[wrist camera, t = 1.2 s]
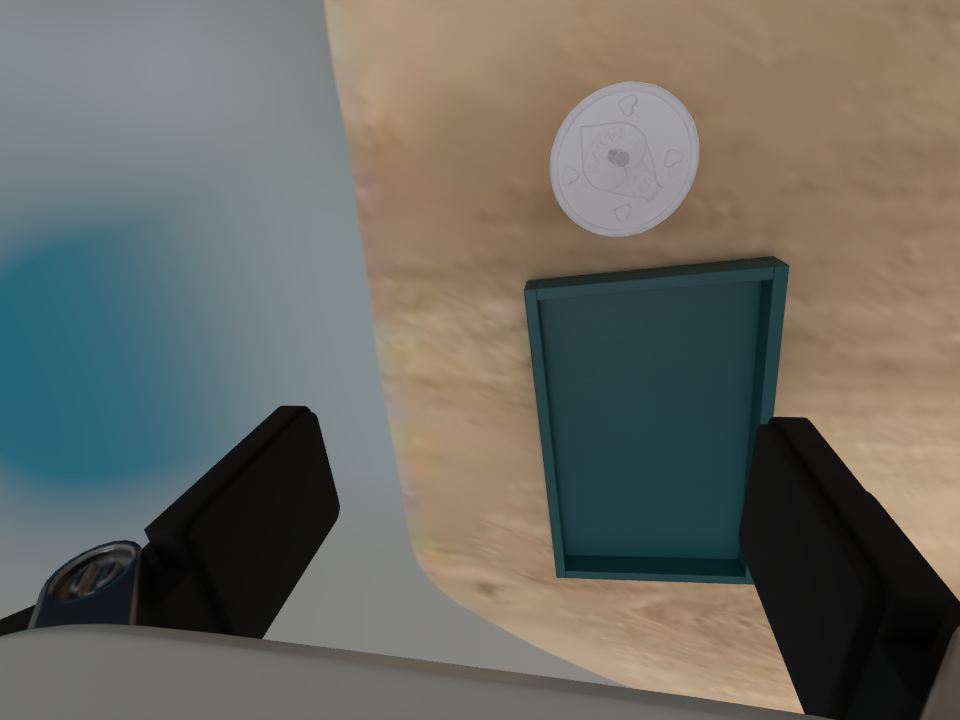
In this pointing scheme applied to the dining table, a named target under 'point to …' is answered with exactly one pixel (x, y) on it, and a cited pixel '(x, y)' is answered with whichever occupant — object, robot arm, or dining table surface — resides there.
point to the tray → (654, 413)
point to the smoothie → (624, 159)
